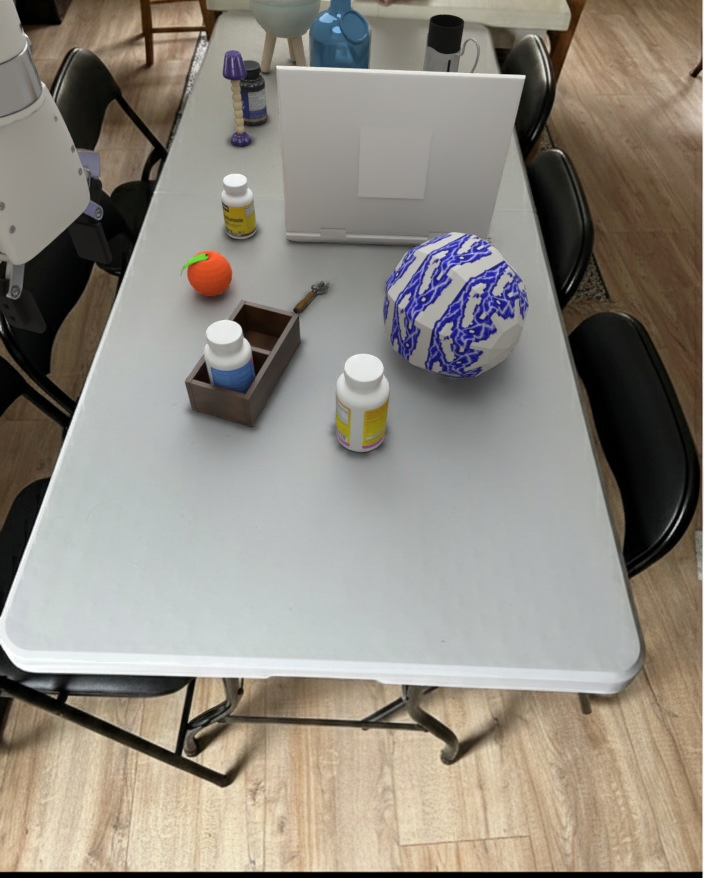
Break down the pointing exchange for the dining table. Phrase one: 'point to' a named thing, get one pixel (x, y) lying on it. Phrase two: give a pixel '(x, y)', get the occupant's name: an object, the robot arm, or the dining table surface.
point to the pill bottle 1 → (228, 357)
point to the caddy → (271, 353)
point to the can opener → (310, 296)
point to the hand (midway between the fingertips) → (64, 291)
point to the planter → (284, 25)
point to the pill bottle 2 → (253, 95)
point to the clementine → (209, 273)
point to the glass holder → (445, 44)
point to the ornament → (454, 306)
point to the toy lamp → (236, 93)
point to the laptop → (392, 152)
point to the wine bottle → (340, 38)
